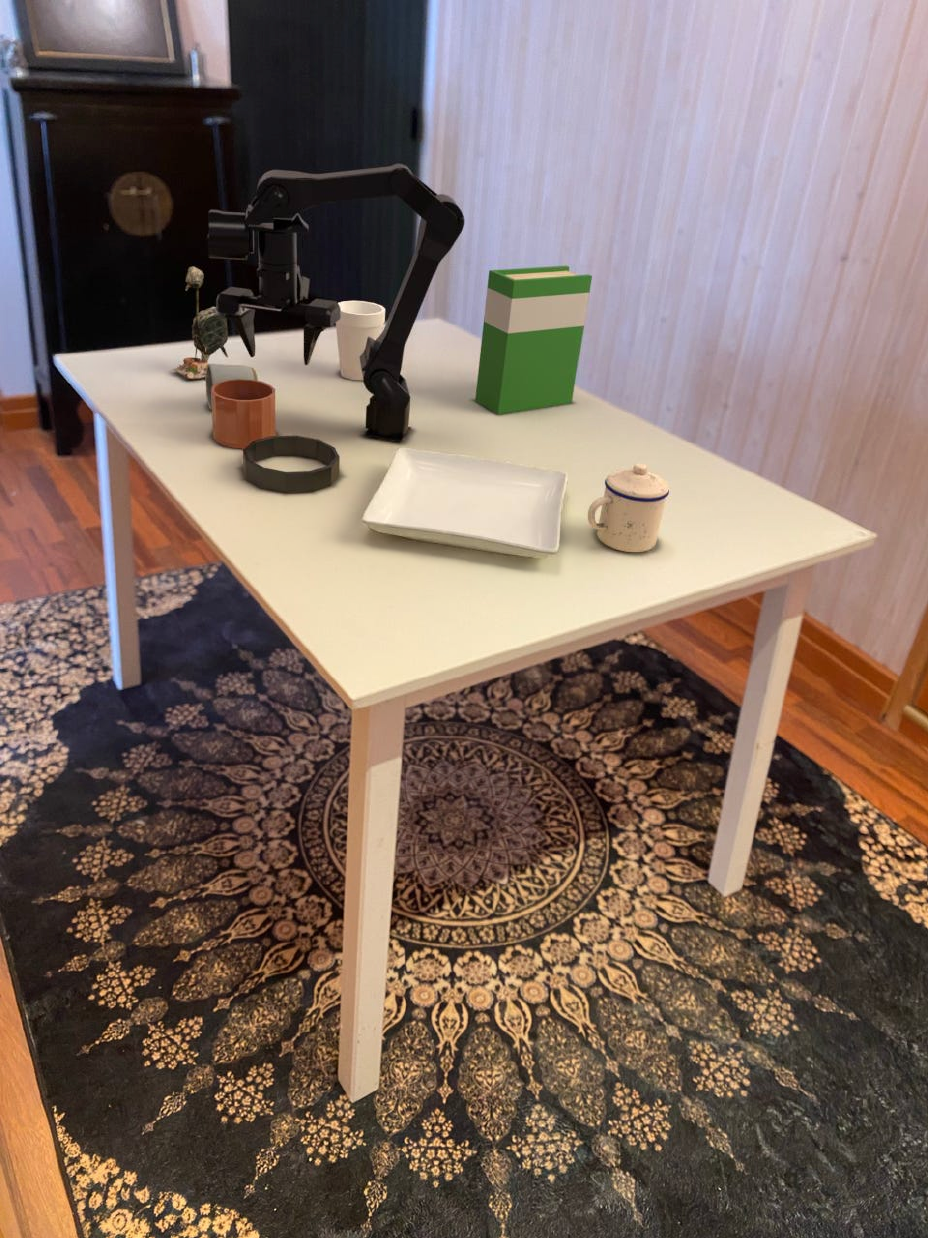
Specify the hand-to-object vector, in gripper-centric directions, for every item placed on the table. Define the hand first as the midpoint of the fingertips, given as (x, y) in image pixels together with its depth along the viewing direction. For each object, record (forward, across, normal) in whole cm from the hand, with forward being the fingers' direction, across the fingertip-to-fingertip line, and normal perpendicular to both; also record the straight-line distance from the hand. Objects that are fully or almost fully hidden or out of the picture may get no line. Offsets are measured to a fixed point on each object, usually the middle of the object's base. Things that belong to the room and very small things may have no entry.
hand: (279, 360), depth 163 cm
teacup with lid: (+13, -58, +18) cm, 63 cm away
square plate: (+13, -36, +19) cm, 43 cm away
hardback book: (+13, -36, -33) cm, 51 cm away
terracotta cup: (+12, +4, +5) cm, 14 cm away
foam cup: (+12, -3, -32) cm, 35 cm away
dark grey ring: (+12, -8, +16) cm, 21 cm away
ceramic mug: (+12, +12, -7) cm, 18 cm away
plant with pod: (+12, +23, -20) cm, 33 cm away
